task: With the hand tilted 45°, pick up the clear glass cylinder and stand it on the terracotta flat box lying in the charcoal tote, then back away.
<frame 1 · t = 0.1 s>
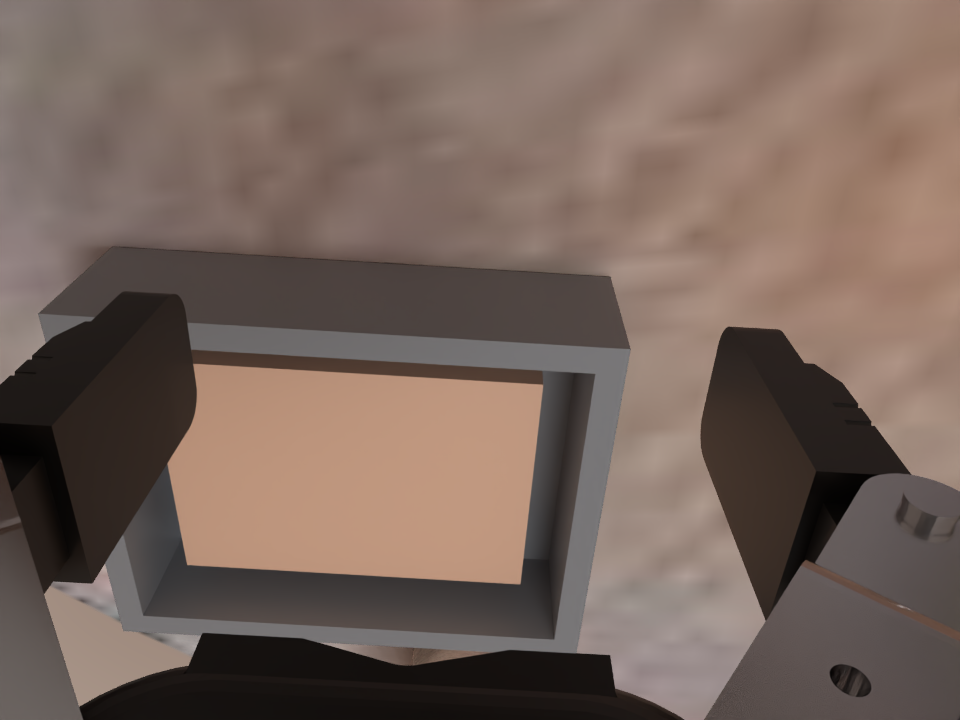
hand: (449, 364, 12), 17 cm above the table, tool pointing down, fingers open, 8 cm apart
flat box: (362, 436, 33), point 1 cm above the table, touching tote
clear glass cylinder: (466, 644, 41), on the table
tote: (365, 422, 34), on the table
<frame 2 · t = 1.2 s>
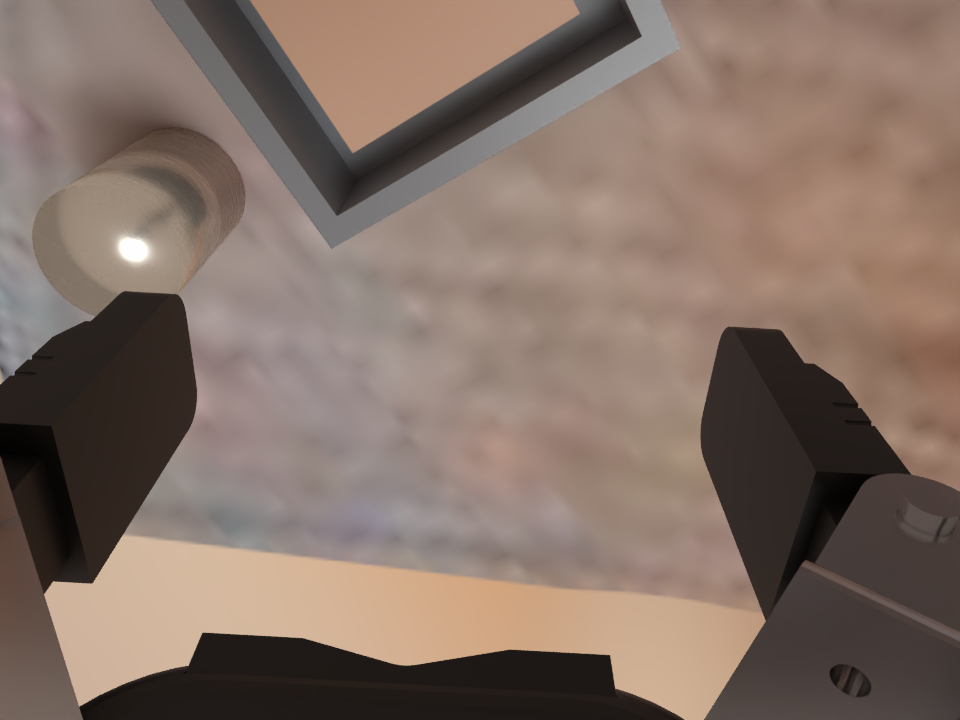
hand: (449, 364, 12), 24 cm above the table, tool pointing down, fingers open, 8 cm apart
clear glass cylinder: (185, 188, 36), on the table
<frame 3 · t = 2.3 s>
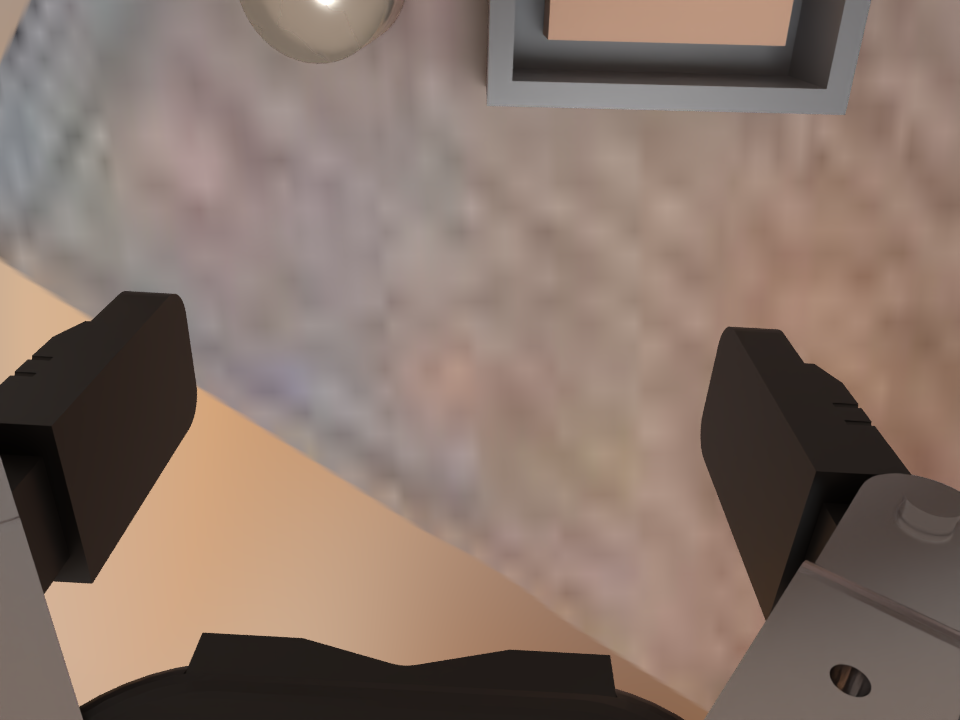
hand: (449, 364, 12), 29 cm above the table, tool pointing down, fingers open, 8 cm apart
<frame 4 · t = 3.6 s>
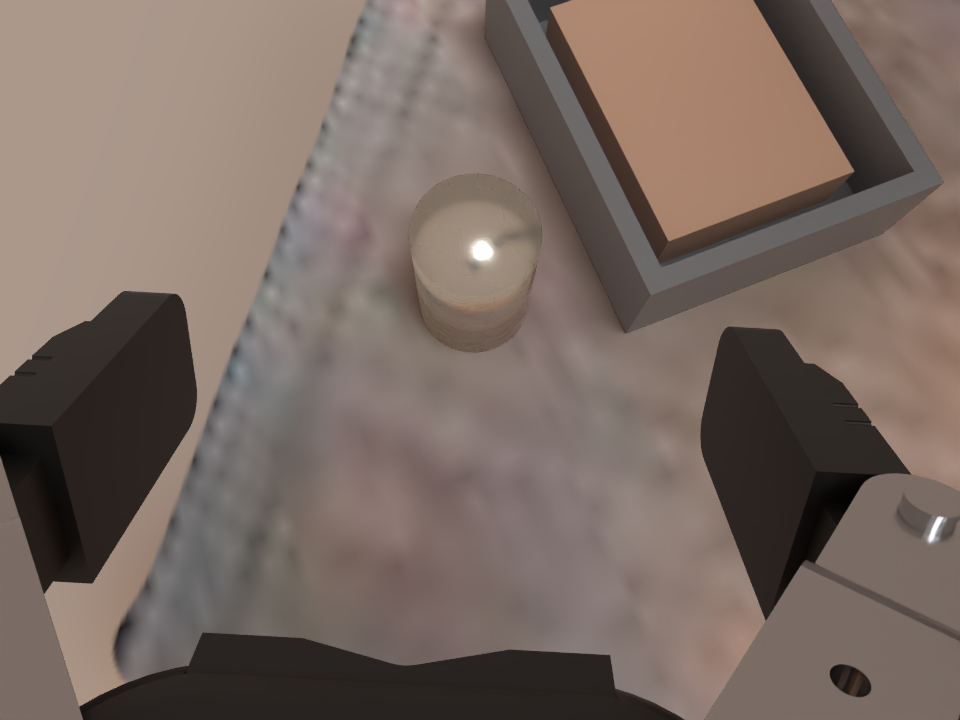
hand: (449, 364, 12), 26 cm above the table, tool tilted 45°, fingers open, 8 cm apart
flat box: (681, 121, 42), point 1 cm above the table, touching tote
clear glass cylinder: (473, 300, 40), on the table
tote: (676, 131, 43), on the table
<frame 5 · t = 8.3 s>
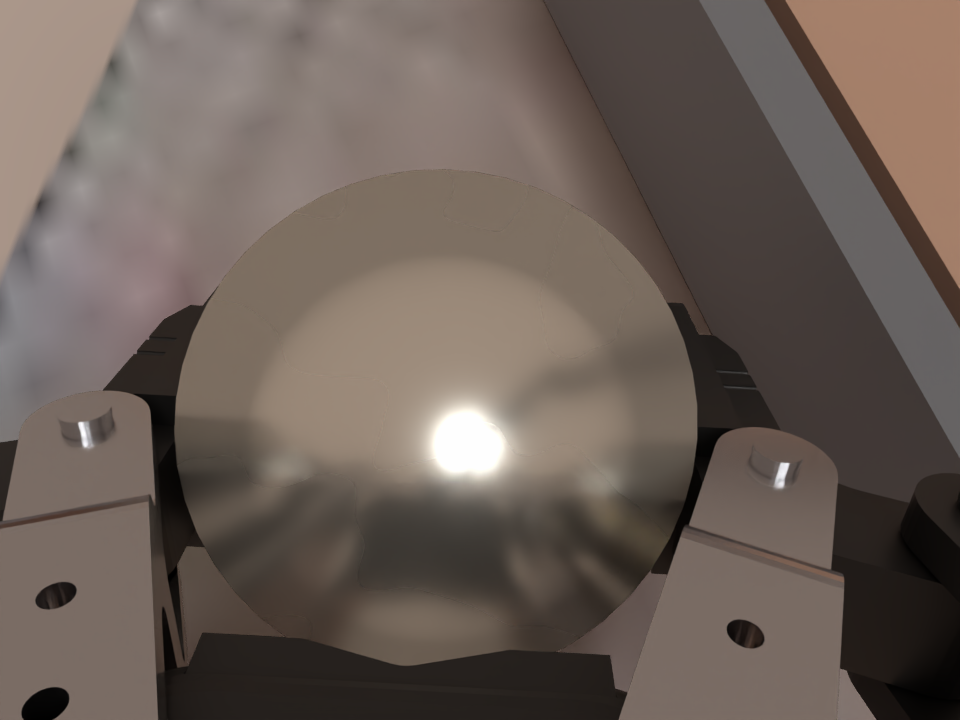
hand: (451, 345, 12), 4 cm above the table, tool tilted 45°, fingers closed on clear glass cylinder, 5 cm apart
flat box: (939, 52, 18), point 1 cm above the table, touching tote
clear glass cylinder: (450, 489, 16), on the table, touching gripper
tote: (915, 79, 19), on the table
when the fingers open (10 cm above the table, at t = 14.2 s): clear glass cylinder drops 1 cm, resting on flat box.
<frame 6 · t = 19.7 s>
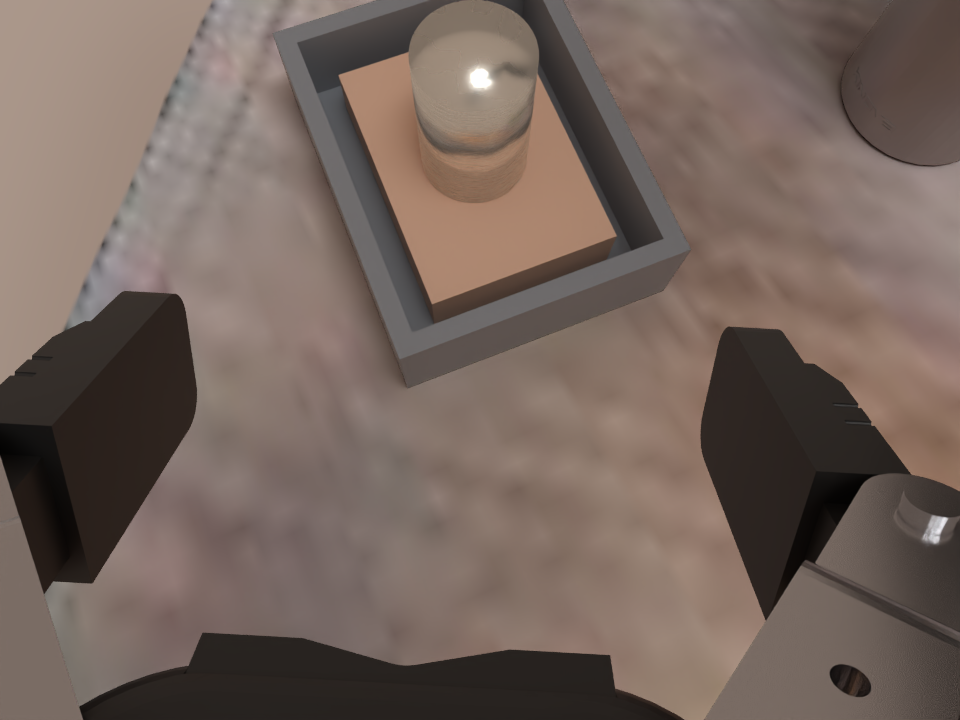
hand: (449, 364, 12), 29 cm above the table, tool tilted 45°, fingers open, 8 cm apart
flat box: (473, 181, 43), point 1 cm above the table, touching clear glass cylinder, tote
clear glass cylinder: (474, 155, 40), point 4 cm above the table, touching flat box
tote: (472, 190, 44), on the table
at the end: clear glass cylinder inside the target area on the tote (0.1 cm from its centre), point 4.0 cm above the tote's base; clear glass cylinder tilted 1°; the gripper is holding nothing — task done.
